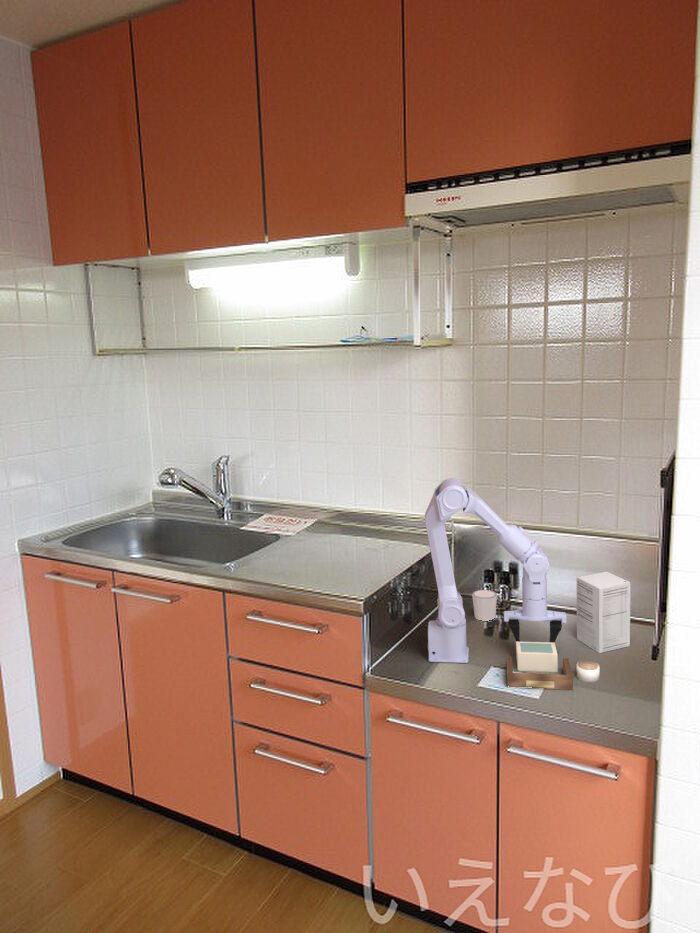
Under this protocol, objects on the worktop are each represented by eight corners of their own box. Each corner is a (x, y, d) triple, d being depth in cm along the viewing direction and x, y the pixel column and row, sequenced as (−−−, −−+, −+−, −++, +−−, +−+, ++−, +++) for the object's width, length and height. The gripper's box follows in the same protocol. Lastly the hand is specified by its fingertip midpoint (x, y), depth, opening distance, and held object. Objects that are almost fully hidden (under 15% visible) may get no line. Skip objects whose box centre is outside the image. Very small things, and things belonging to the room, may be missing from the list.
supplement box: (606, 632, 179) (607, 570, 176) (631, 646, 171) (632, 581, 167) (575, 639, 176) (575, 576, 173) (598, 654, 168) (599, 588, 165)
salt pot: (577, 682, 155) (577, 669, 155) (575, 671, 160) (575, 659, 160) (601, 683, 154) (601, 670, 154) (597, 672, 159) (597, 659, 159)
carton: (517, 671, 162) (517, 653, 161) (516, 658, 168) (515, 641, 167) (557, 672, 160) (557, 654, 160) (554, 659, 167) (554, 642, 166)
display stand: (507, 688, 154) (507, 675, 154) (506, 668, 163) (506, 656, 163) (573, 690, 152) (573, 678, 151) (568, 670, 161) (568, 658, 160)
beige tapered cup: (482, 610, 197) (482, 587, 196) (502, 616, 192) (502, 593, 191) (467, 618, 193) (466, 594, 192) (487, 624, 188) (487, 600, 187)
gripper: (564, 590, 169) (564, 642, 171) (503, 589, 172) (504, 640, 174) (567, 601, 162) (567, 655, 164) (504, 600, 165) (504, 653, 167)
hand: (534, 648), depth 169 cm, fingers open, 7 cm apart
